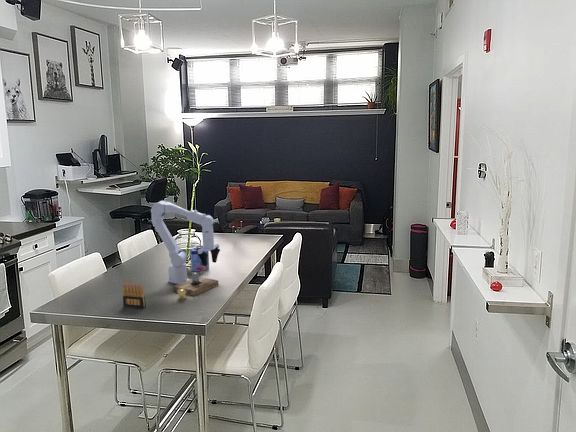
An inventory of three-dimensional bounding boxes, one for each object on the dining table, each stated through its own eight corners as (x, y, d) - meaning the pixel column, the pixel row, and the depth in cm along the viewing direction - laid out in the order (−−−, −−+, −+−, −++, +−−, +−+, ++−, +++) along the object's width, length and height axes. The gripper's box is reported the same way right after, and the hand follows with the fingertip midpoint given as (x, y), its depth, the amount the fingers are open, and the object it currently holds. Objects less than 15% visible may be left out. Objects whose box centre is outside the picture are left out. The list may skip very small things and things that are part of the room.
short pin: (176, 299, 220) (176, 290, 219) (182, 297, 223) (181, 288, 222) (182, 300, 218) (181, 291, 218) (187, 298, 221) (187, 289, 221)
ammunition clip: (146, 306, 211) (143, 281, 209) (143, 308, 210) (141, 282, 208) (125, 305, 214) (123, 280, 212) (123, 306, 213) (120, 281, 211)
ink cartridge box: (192, 271, 264) (191, 247, 262) (191, 269, 269) (189, 245, 267) (209, 269, 268) (208, 245, 265) (208, 267, 273) (206, 243, 270)
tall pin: (191, 288, 235) (190, 273, 234) (195, 286, 238) (194, 271, 237) (196, 289, 234) (195, 274, 232) (201, 287, 237) (200, 272, 235)
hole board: (173, 291, 232) (172, 286, 232) (198, 281, 247) (197, 276, 247) (194, 295, 225) (193, 290, 224) (218, 285, 240) (218, 280, 239)
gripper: (204, 242, 234) (206, 268, 237) (223, 236, 246) (224, 261, 249) (194, 241, 238) (195, 266, 240) (213, 235, 250) (214, 260, 252)
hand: (209, 264), depth 245 cm, fingers open, 7 cm apart
